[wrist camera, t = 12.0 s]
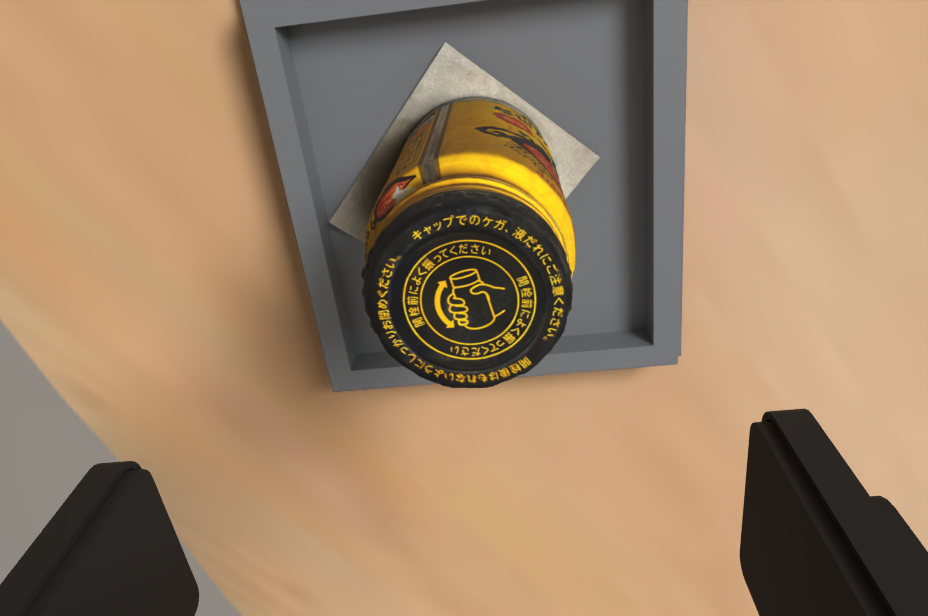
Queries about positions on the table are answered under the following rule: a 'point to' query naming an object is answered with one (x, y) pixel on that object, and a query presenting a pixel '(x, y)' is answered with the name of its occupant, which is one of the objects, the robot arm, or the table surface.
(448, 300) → the condiment
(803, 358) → the table surface
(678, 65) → the dock
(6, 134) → the table surface
